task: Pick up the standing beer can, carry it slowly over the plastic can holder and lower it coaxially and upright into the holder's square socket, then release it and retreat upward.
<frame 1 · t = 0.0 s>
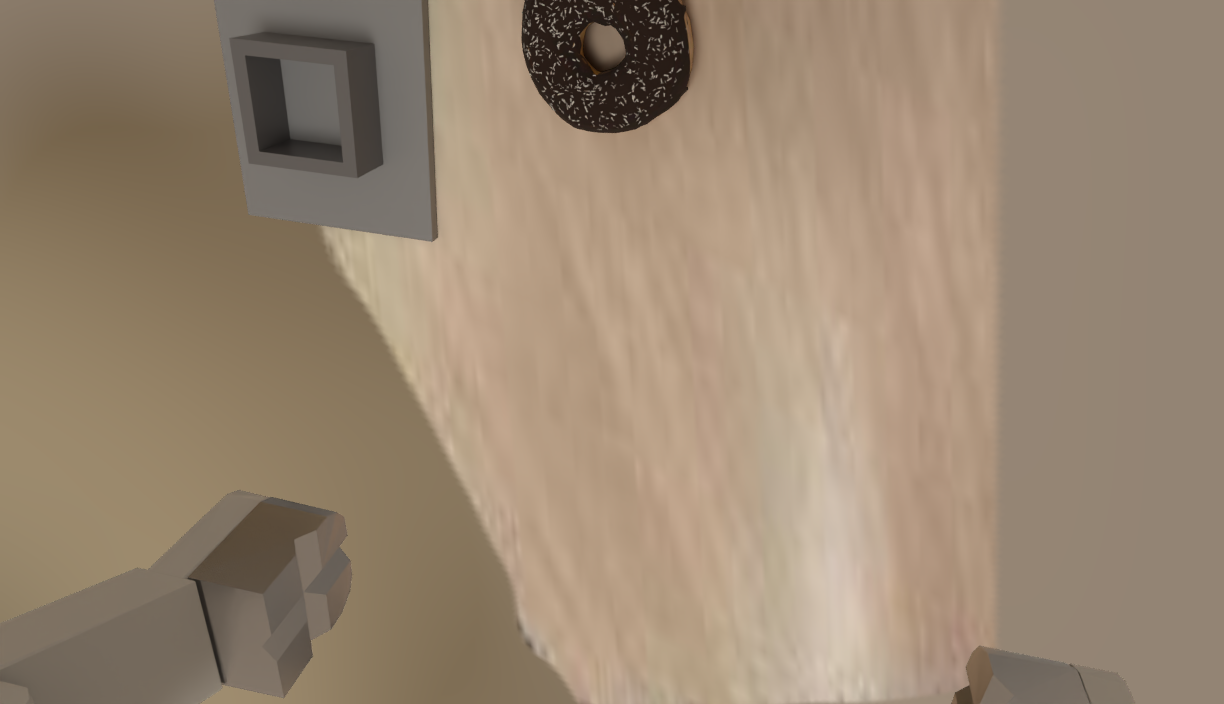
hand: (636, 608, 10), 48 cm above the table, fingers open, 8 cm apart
can holder: (332, 97, 59), on the table
donut: (611, 39, 53), on the table
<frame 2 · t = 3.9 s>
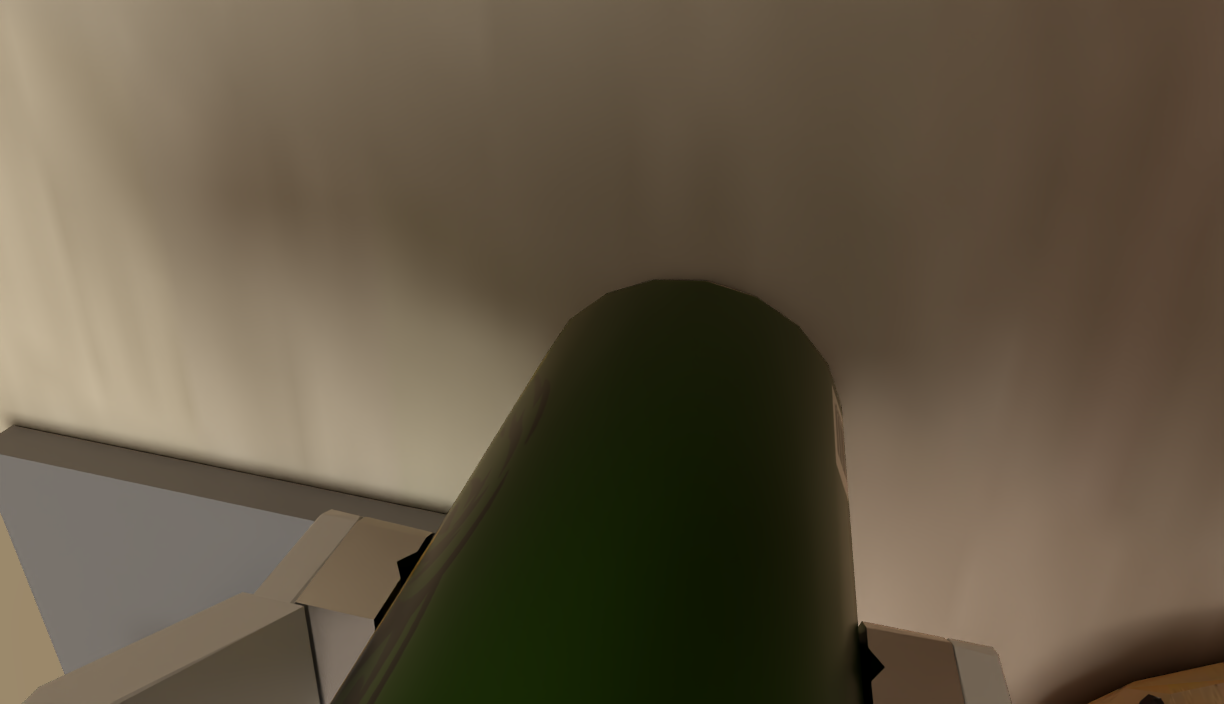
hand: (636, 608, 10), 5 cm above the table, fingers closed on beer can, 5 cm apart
beer can: (690, 392, 15), on the table, touching gripper
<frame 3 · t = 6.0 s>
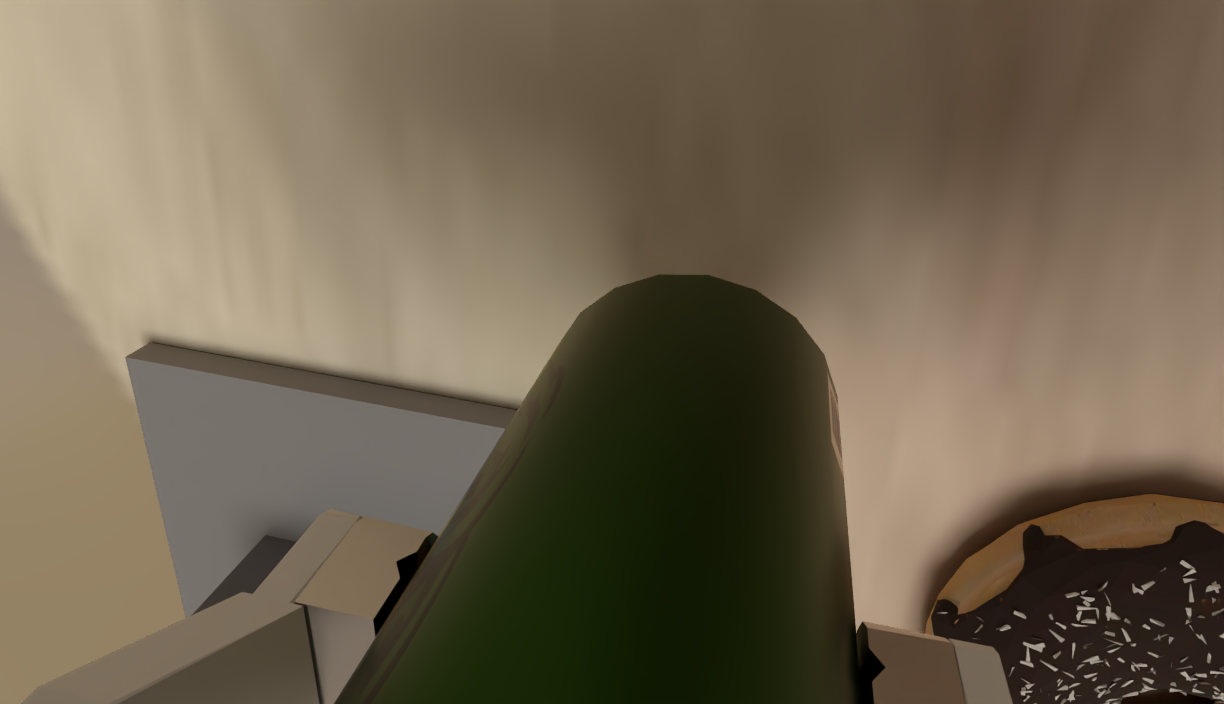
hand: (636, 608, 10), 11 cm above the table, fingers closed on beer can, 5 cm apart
beer can: (693, 384, 15), point 4 cm above the table, touching gripper
can holder: (411, 637, 27), on the table
donut: (1124, 636, 22), on the table
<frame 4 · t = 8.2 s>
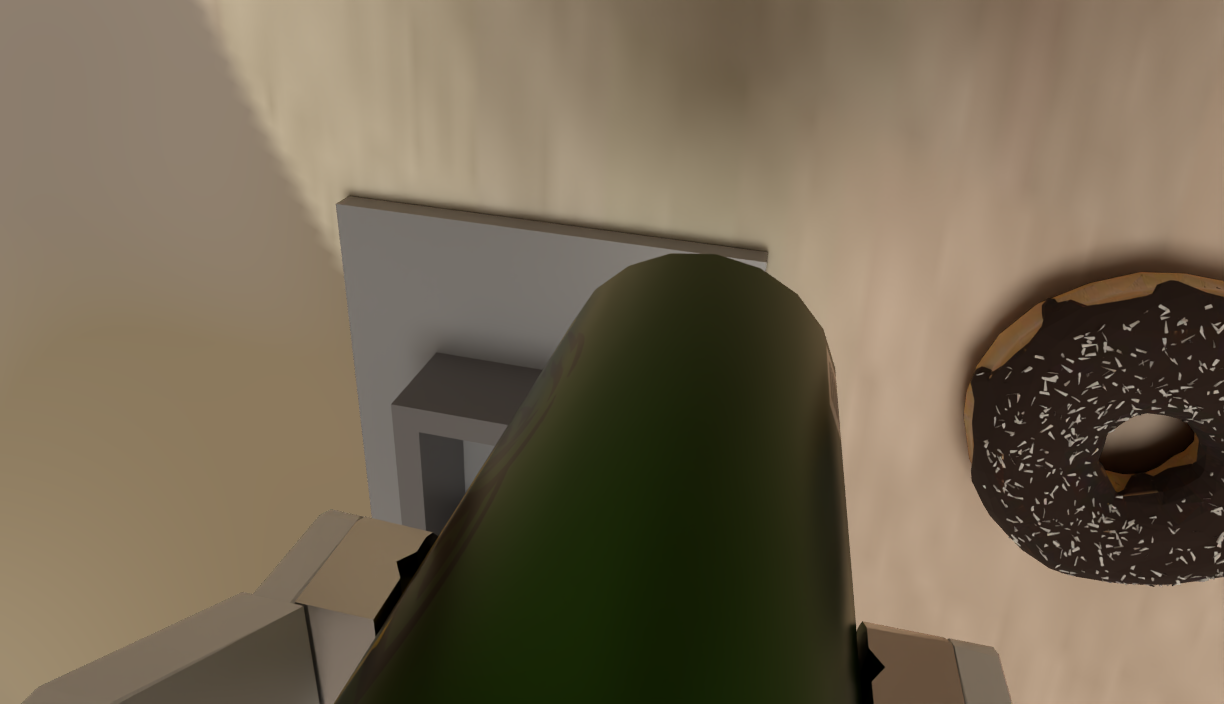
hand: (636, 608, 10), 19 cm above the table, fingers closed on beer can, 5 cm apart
beer can: (700, 359, 16), point 12 cm above the table, touching gripper
can holder: (544, 444, 34), on the table
donut: (1122, 403, 28), on the table
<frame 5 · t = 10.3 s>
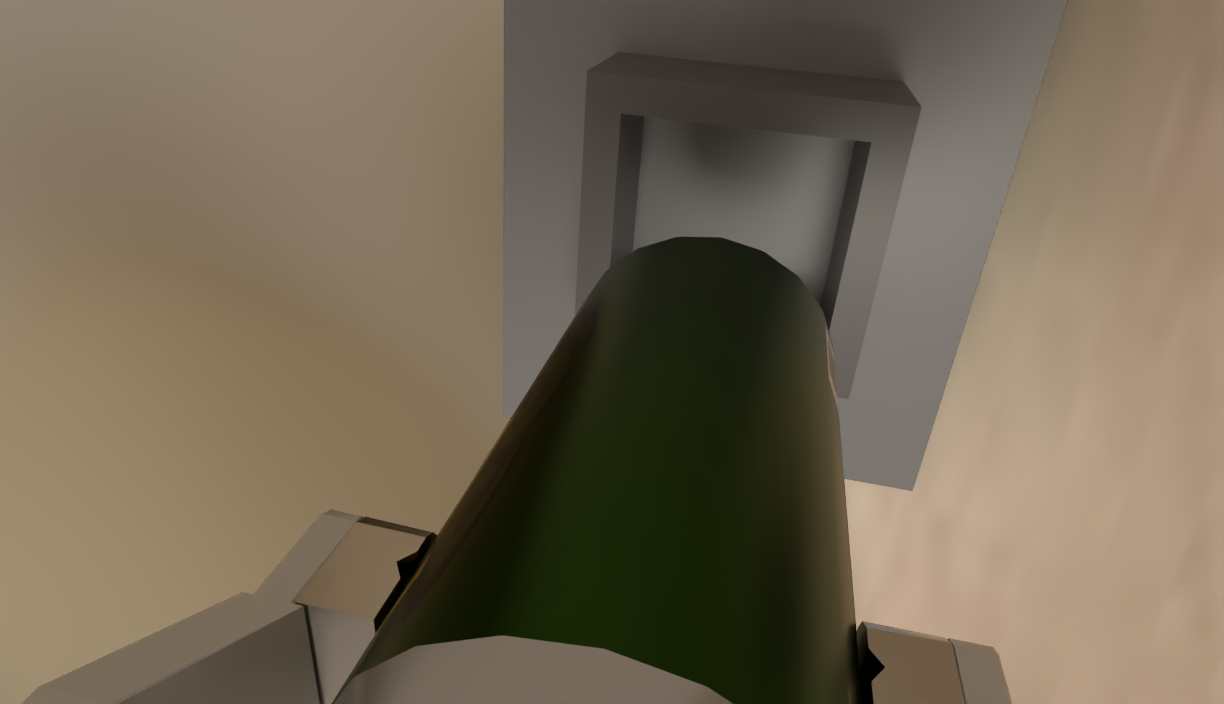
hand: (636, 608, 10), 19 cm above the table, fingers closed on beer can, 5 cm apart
beer can: (704, 340, 17), point 11 cm above the table, touching gripper
can holder: (738, 195, 27), on the table
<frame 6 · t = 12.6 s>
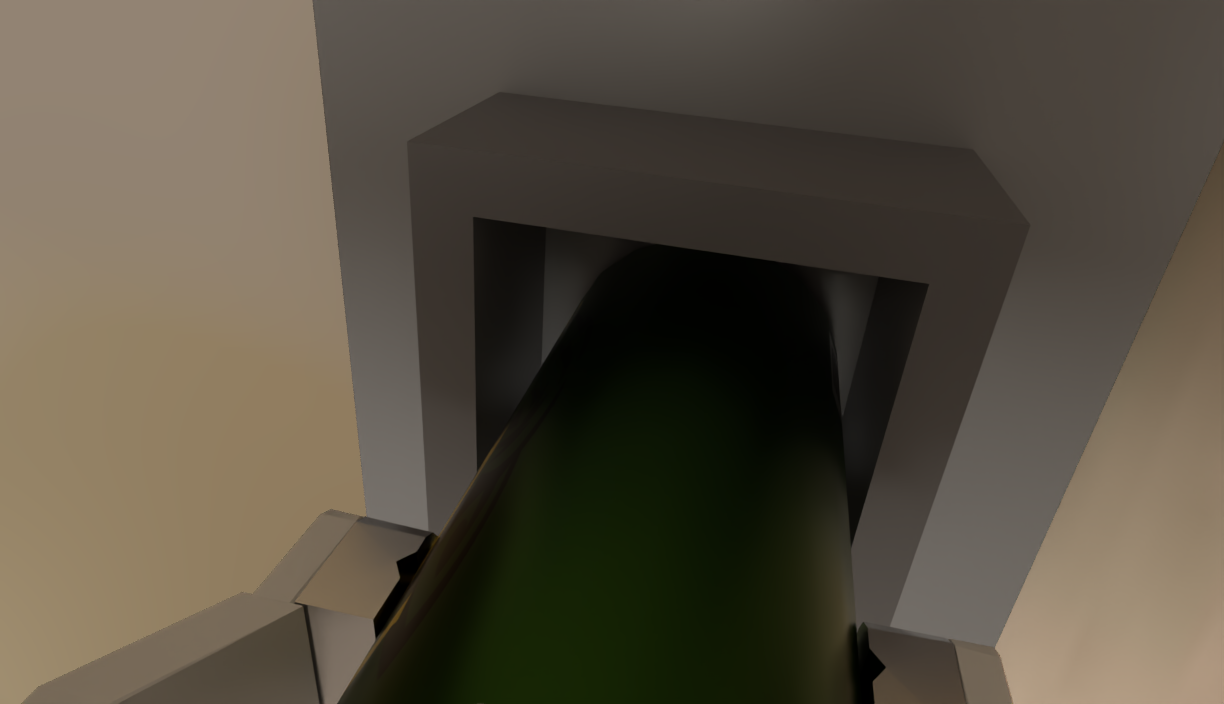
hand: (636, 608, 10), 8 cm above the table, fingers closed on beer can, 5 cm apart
beer can: (703, 342, 17), point 1 cm above the table, touching can holder, gripper
can holder: (701, 309, 17), on the table
when the fingers open (7 cm above the table, at t = 13.3 s): beer can stays where it is, resting on can holder.
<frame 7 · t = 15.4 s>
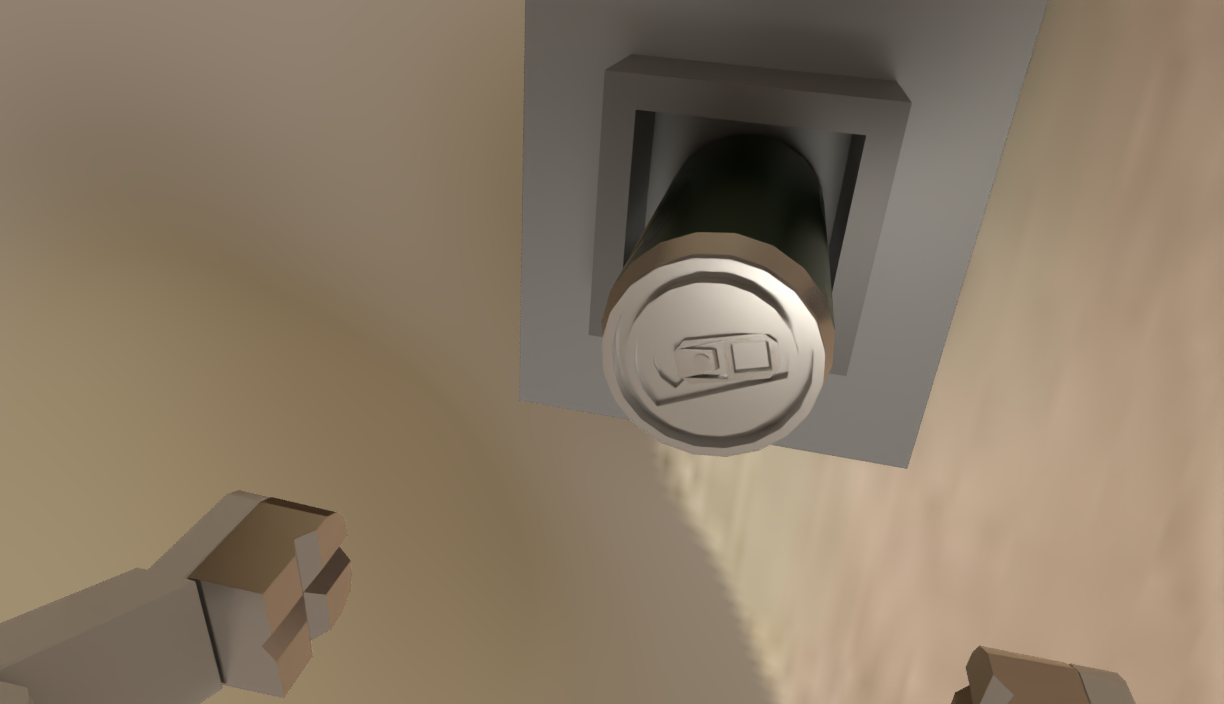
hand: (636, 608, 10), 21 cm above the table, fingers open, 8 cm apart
beer can: (745, 205, 28), point 1 cm above the table, touching can holder
can holder: (743, 188, 28), on the table
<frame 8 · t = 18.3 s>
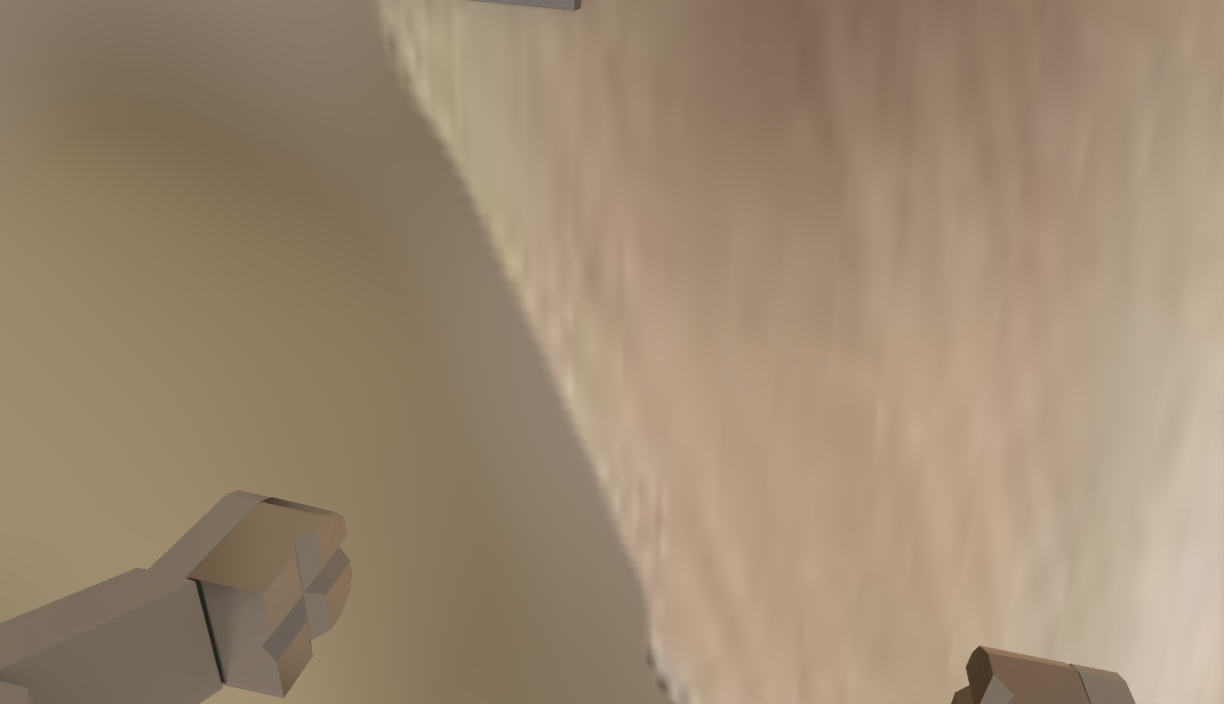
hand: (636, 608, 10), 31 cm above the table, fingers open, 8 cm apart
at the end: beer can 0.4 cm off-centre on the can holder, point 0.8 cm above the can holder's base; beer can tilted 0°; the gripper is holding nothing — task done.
